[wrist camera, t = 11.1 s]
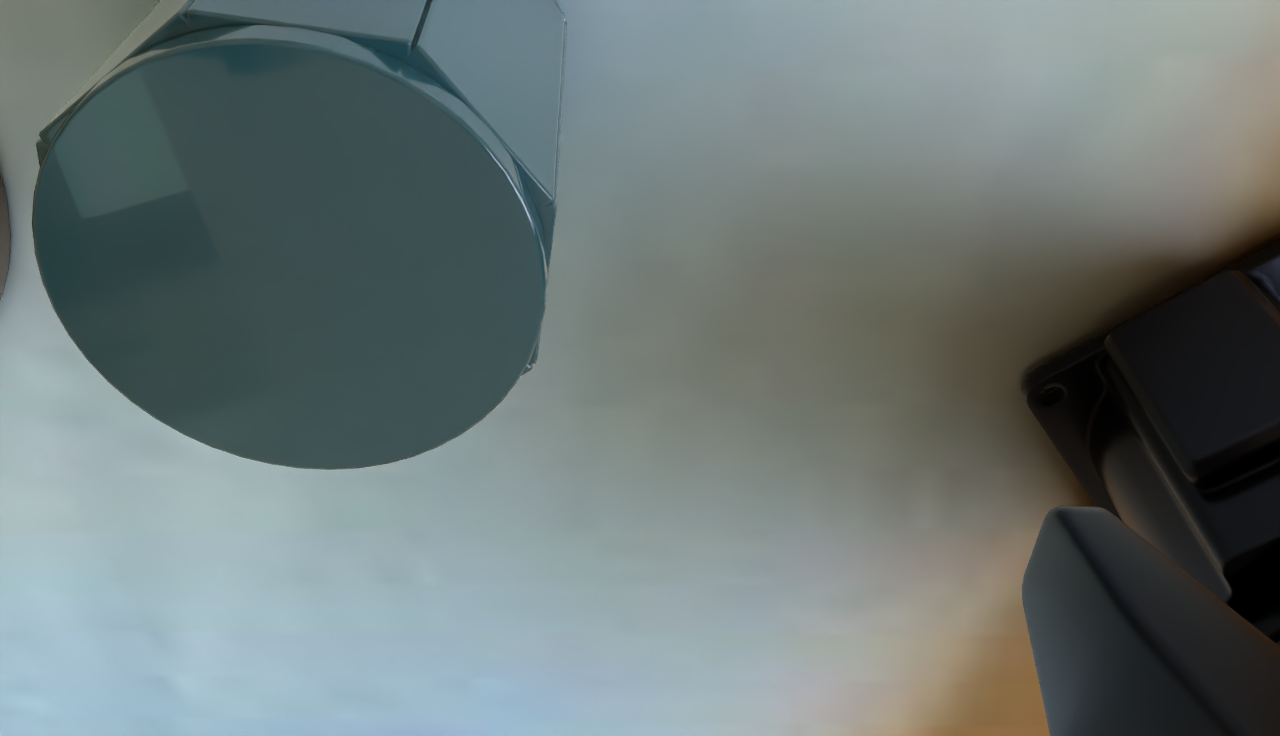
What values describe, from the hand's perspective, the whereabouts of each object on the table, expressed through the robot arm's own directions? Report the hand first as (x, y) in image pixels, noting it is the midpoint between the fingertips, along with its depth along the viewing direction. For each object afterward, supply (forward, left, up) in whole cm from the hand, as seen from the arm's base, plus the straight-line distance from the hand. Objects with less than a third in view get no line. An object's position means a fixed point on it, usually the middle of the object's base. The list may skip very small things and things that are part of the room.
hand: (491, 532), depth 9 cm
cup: (+1, +3, -12) cm, 12 cm away
